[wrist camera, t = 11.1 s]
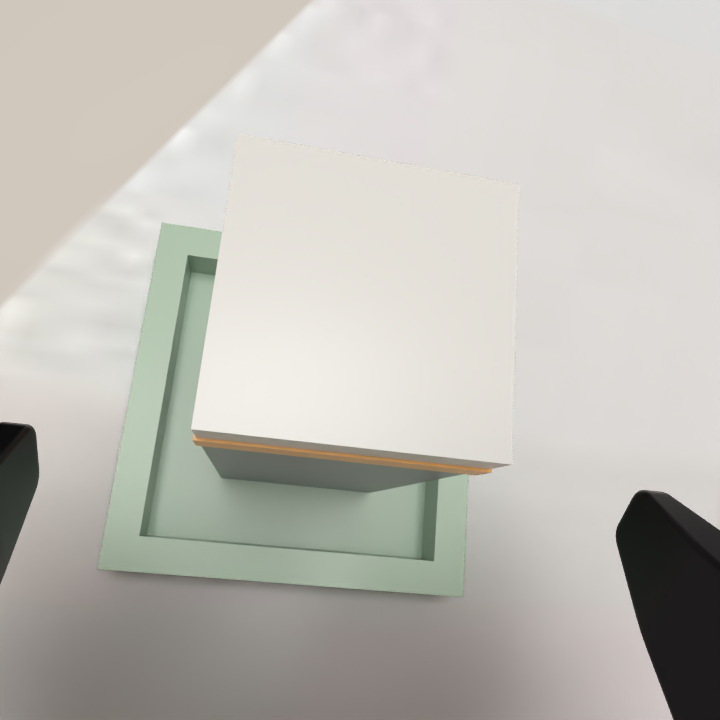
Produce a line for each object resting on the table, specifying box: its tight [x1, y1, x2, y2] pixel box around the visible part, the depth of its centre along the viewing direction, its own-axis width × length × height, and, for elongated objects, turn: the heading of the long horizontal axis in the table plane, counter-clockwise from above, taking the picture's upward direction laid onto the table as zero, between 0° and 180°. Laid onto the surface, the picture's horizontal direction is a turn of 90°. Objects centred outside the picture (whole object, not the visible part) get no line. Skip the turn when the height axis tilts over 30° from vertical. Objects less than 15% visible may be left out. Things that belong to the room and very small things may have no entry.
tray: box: [97, 223, 468, 597], centre depth 21 cm, size 11×11×2 cm
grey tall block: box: [191, 134, 519, 493], centre depth 16 cm, size 5×5×12 cm
